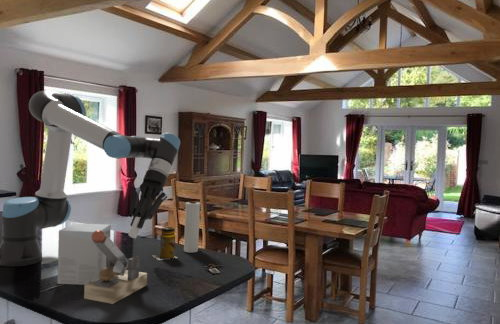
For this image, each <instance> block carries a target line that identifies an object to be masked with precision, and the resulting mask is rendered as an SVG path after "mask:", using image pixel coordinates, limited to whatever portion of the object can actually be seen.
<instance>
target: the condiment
mask: <svg viewBox="0 0 500 324" xmlns="http://www.w3.org/2000/svg"><path fill="white" fill-rule="evenodd" d="M175 229H176V228H175V227H170V226H165V227H162V228H161V234H160V239H159V241H160V242H159V254H152V255H151V256H152V257H153V258H154V259H155V258H156V260H157V261H164V260H171V259H170V258H173V259H174V258H175V259H178V256H175V253H176V252H175V251H176V234H175V231H176V230H175ZM157 256H158V257H157ZM160 258H163V259H160ZM173 259H172V260H173Z"/></svg>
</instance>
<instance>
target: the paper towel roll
mask: <svg viewBox="0 0 500 324" xmlns="http://www.w3.org/2000/svg"><path fill="white" fill-rule="evenodd" d="M200 209H201V202H197V201H188V202H185V215H184V237H183V238H184V239H183V240H184V241H183V252H185V253H189V254H190V253H197V252H198V251H199V242H200V241H199V234H200V215H201V214H200V211H201V210H200Z"/></svg>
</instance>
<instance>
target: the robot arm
mask: <svg viewBox="0 0 500 324" xmlns="http://www.w3.org/2000/svg"><path fill="white" fill-rule="evenodd" d="M28 110H29V113H30V114H31V116H32V117H33V118H35V120H37V121H38V122H42V123H44V127H46V128H47V130H48V131H47V137H46V138H47V139H46V144H45V151H44V152H45V153H44V160H43V166H42V172H41V173H42V174H41V182H40V187H39V189H38V190H37V191H35V194H34V196H23V197H15V198H11V199H9V200H8V199H7V200H6V201H5V202H4V204H3V207H2V212H1V216H2V219H1V221H2V224H1V225H2V227H1V228H2V229H1V231H2V233H1V236H2V237H1V243H0V266H1V267H10V268H11V267H12V268H13V267H25V266H30V265H31V266H32V265H34V264H37V263H38V264H39V263H40V262H42V260H43V253H42V250H41V247H40V244H39V241H38V231H39V230H44V229H48V228H55V227H57V226H60V225H62V224H64V223H65V222H67V221H68V219H69V217H70V215H71V212H72V207H71V206H72V205H71V204H70V201H69V199H68V198H67V197H68V194H66V193H65V185H66V184H65V183H66V176H67V171H68V162H69V156H70V149H71V143H72V142H71V141H72V138H73V137H72V136H73V135H74V136H76V137H77V138H79V139H82V140H84V141H85V142H87V143H89V144H91V145H94V146H96V147H97V148H99V149H101V150H104V153H105V154H106V155H107V156H108V157H110V158H112V159H125V158H126V159H130V158H131V159H133V158H137V159H138V158H141V159H143V158H145V159H151V160H150V163H149V165H148V166H147V170H146V171H145V174H144V177H143V181H142V183H141V184H140V185H139V186H138V187H132V188H131V190H132V191H131V192H132V197H131V201H130V208H129V214H130V215H132V216H133V217H132V219H131V221H130V227H131V228H130V230H129V232H128V237H130V238H132V239H135V240H136V239H137V237H138V235H139V231H140V230H142V229H143V227H144V224H145V222H146V221H147V220H152V219H153V218H154V216H155V214H156V212H157V211H158V210H159V209H160V206H161V205H162V203H163V202H164V201H165V200H166V199H167V198H168V195H167V194H166V193H165V192H164V187H165V185H166V182H167V181H168V178H169V175H170V173H171V169H172V166H173V164H174V161H175V159H176V156H177V155H178V152H179V149H180V146H181V140H180V138H179V137H178V135H176V134H173V133H170V132H164V133H162V134H161V135H160V138H152V137H146V136H140V135H131V136H129V135H124V134H122V133H120V132H117V131H115V130H113V129H112V128H109V127H108V126H106V125H104V124H101V123H99V122H97V121H96V120H93V119H91V118H89V117H88V116H86V107H85V104H84V102H83V101H82V100H81V98H80V97H79V96H76V95H74V94H70V93H67V92H66V93H65V92H58V91H53V90H47V89H45V90H41V91H40V90H39V91H37V92H36V93H33V94H32V96H31V98H30V99H29V102H28Z"/></svg>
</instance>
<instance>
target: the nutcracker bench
mask: <svg viewBox="0 0 500 324" xmlns="http://www.w3.org/2000/svg"><path fill="white" fill-rule="evenodd" d="M127 259H128V267H127V269H126V271H125V274H124V276H120V275H115V274H114V272H113V268H114V266H115V265H113V263H112V262H111V261H110V260H109V259H108V258H107V257H106V267H105V268H103V269H102V270H101V271H100V279H97V280H95V281H93V282H91V283H88V284H86V285H83V286H84V293H83V298H84V300H91V301H95V302H100V303H106V304H111V305H113V304H115V303H117V302H119V301H121V300H123V299H124V298H126V297H128V296H130V295H132V294H133V293H136V292H137V291H139V290H140V289H142V288H144V287H146V286H147V285H148V273H147V272H142V271H140V256H138V255H135V256H132V257H130V258H127Z"/></svg>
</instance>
